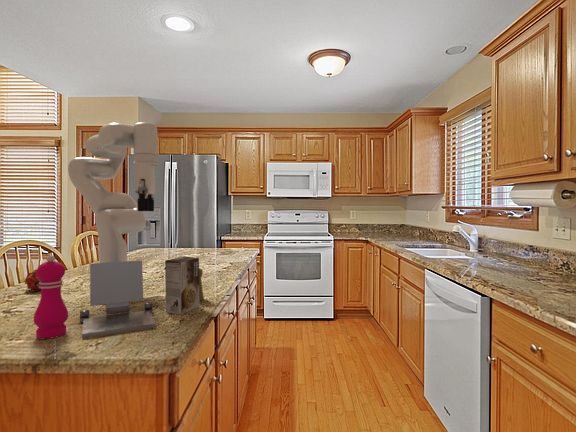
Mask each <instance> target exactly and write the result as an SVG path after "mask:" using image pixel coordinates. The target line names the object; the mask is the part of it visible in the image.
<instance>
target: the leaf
mask: <svg viewBox="0 0 576 432" xmlns="http://www.w3.org/2000/svg"><path fill="white" fill-rule="evenodd" d="M89 289H90V290H89V291H90V292H89V295H90V296H89V297H90V298H89V299H90V301H89V305H90V307H94V306H95V307H96V306H103V305H105V313H106V314H105V316H106V315H114V314H122V313H130V302H138V301H144V278H143V260H131V261H128V260H127V261H125V262H109V263H99V262H94V263H90V264H89Z"/></svg>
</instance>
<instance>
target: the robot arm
mask: <svg viewBox="0 0 576 432" xmlns="http://www.w3.org/2000/svg"><path fill="white" fill-rule="evenodd" d="M85 148H86V151H87V152H88V153H89V154H90V155H91V156H93V157H88V156H80V157H79V156H78V157H75V158H72V159H71V160H70V161H69V162H68V167H67V171H68V177H69V179H70V181H71V184H72V185H73V186H74V187H75V189H76V190H77V191H78V192H79V193H80V194H81V196H82V197H83V199H84V200H85V201H86V203H87V205H88V207H89V208H90V209H91V211H92V213H94V214H95V215H96V216H95V226H96V231H97V237H98V263H109V262H125V261H128V245H127V242H126V240H125V239H124V238H123V236H122V234H135V233H137V234H138V233H140V232H142V231H143V230H144V229H145V227H146V224H147V221H146V216H145V215H144V214H145V213H144V212H154V211H155V197H154V194H155V191H156V180H155V179H156V176H155V175H156V173H155V171H156V170H155V167H156V166H158V165H159V164H158V158H159V157H158V127H157V126H156V125H155V124H154V123H151V122H142V121H141V122H137V123H135V124H133V125H130V124H129V125H128V124H124V123H118V122H111V123H108V124H104V125H102V126H101V128H100V129H99V131H98V134H95V135H92V136H90V137H89V138H88V139H87V140H86V141H85ZM128 148H129V149H130V148H131V149H133V165H134V166H135V169H134V193H135V194H137V202H136V201H135V200H134V198H133V197H132V196H131V195H130V194H128V193H124V192H113V191H112V192H111V191H108V189H106V187H105V186H104V184H103V183H101V181H99V180H112V179H114V178H115V177H116V176H117V175H118V173H119V170H120V168H121V167H122V165H123V162H124V160H125V158H126V156H127V150H128Z"/></svg>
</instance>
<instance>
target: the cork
mask: <svg viewBox="0 0 576 432" xmlns="http://www.w3.org/2000/svg"><path fill="white" fill-rule="evenodd" d="M202 277H203V269H202V268H201V267H199V302H202V301H203V300H205V298H204V291H203V283H202Z"/></svg>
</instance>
